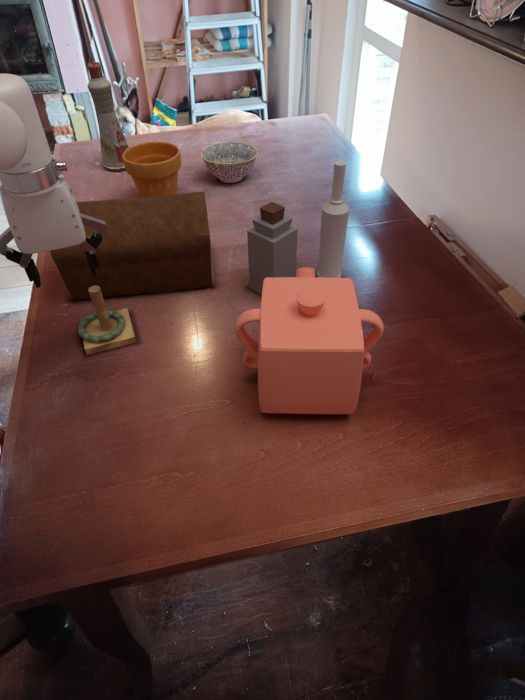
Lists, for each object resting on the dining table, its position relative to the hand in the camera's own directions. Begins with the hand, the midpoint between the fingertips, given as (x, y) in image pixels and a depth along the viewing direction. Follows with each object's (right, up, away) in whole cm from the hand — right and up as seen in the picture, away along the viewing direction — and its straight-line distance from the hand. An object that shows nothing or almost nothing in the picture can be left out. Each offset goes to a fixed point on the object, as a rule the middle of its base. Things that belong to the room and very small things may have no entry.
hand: (66, 276), depth 79 cm
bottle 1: (-11, +43, +65) cm, 79 cm away
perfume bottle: (+35, +1, +20) cm, 40 cm away
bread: (+7, +4, +25) cm, 26 cm away
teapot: (+40, -15, +4) cm, 43 cm away
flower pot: (+5, +28, +49) cm, 56 cm away
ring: (+3, -8, +9) cm, 12 cm away
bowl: (+24, +37, +58) cm, 73 cm away
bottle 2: (+47, +3, +22) cm, 52 cm away
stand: (+4, -9, +11) cm, 14 cm away
